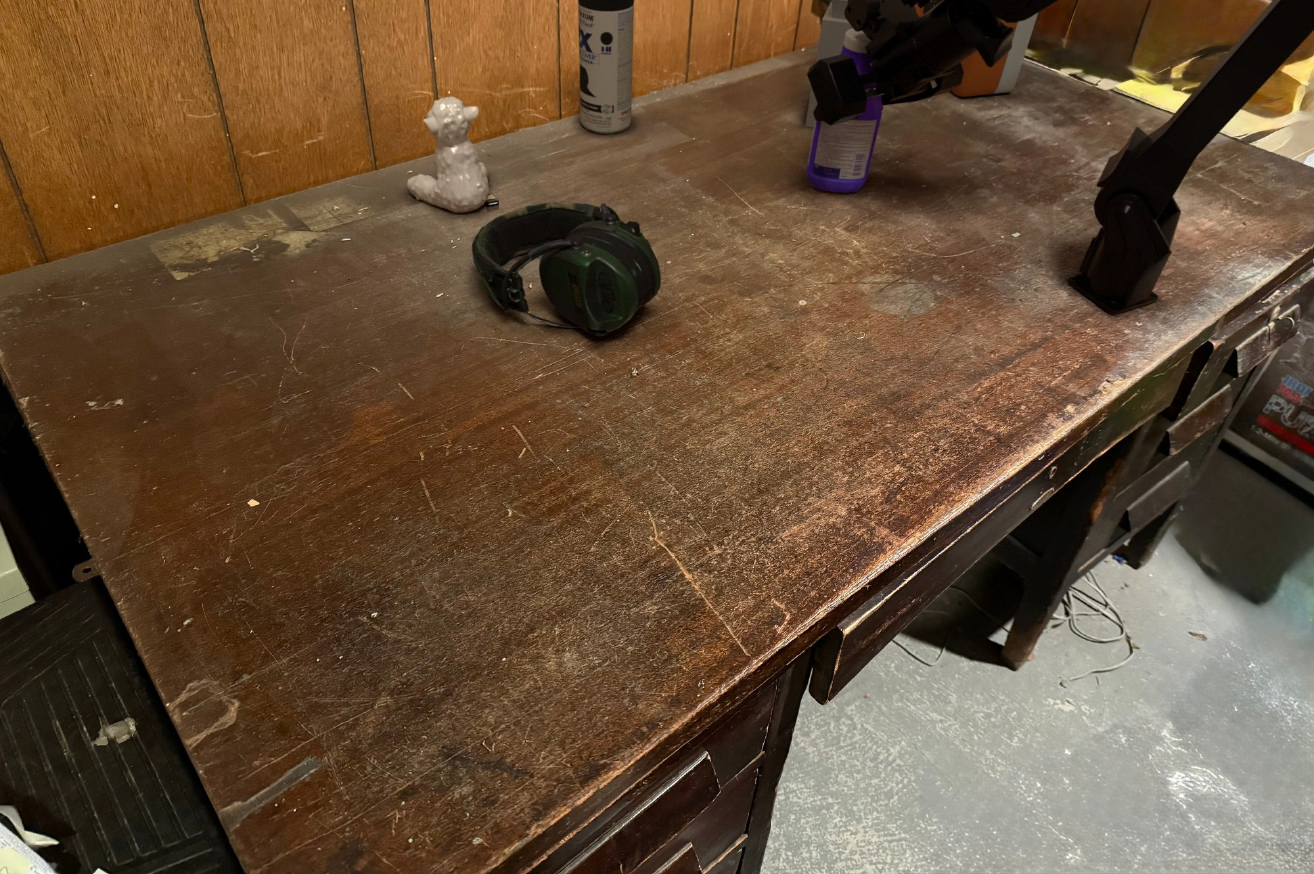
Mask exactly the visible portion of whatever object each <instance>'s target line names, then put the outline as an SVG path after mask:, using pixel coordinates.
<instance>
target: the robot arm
mask: <svg viewBox="0 0 1314 874" xmlns="http://www.w3.org/2000/svg"><path fill="white" fill-rule="evenodd" d="M930 1H931V0H848V1H847V3H848V5H847V6H846V8H845V11H844V15H845V18H846V20H847V21H848V22H849V24H850V25H851V26H852V28H853V29H854V30H855V31H856V32H858V31H863V32H864V34H865V35H866V36H867V38H868V39H870V40H871V41H872V42H870V43H869V44H868V45H866V46H865V49H866V52H867V55H868V58H872V59H873V62H871V63H870V66H871V68H872V72H871V73H867V74H863V75H859V74H858V71H857V68H856V65H855V63H854V60H853V58H852V57H850V56H848V55H846V54H841V55H837V56H833V57H828V58H824V59H820V60H819V61H817V62H816V61H815V62H816V63H813V64H812V65H810V66H809V67H808V71H807V73H806V76H807V79H808V81H809V84H810V87H812V90H813V93H814V95H815V98H816V101H817V103H818V104H817V106H816V108H815V109H814V111H813V114H814V117H815V120H816V121H824V122H825V123H827V124H828V125H830V126H832V125H835V124H839V123H843V122H847V121H850V120H854V119H857V118H860V116H859V115H861V114H862V113H864V112H865V111H866V106H867V101H868V99H869V98H873V97H876V96H880V95H881V98H882V104H883V106H890V105H891V106H893V105H899V104H907V103H908V104H909V103H915V102H919V101H923V100H926V99H930V98H932V97H935V96H939V95H942V94H946V93H949V92H952V91H951V90H953V89H954V88H956V87H957V86H959V85H961V82H962V79H963V75H964V70H963V68H962V65H961V61H963V60H964V59H966V58H967V57H969V56H970V55H972V54H973V53H975V52H976V51H978V52H979V54H980V56H981V57H982V59H983V60H984V62H985V63H986V65H987V66H988V67H993V66H994V65H995V64H996V63H997V62H998V61H999V60H1000V59H1001V58H1002V57H1004V56H1005V55H1006V54H1007V53H1008V52H1009V51H1010V50H1011V49H1012V34H1013V32H1014V29H1013V28H1012V27H1008V26H1006V25H1004V24H1003V23H1002V21H1001V20H1004V21H1005V22H1007V23H1016V22H1020V21H1024V20H1026V19H1028V18H1030V17H1032V16H1033V15H1035V14H1037V13H1038V14H1039V13H1040V12H1041V11H1043V10H1044V9H1046V8H1048V7H1049V6H1051V5H1053V4H1054V3H1056V2H1058V1H1059V0H943V1H941V2H940V3H939V4H937V5H936V6H935V7H933V8H932V9H931V10H929V11H928V12H927V13H925V14H924V15H923V16H921V17H919V15H918V14H917V12H916V8H915V6H914V5H916V4H917V3H918V4H917V5H918V6H919V8H922V7H923V6H925V5H926V4H927V3H929V2H930ZM1000 19H1001V20H1000ZM1313 32H1314V0H1271V2H1270V3H1269V4H1268V5H1267V6H1266V7H1265V8H1264V10H1262V12H1260V14H1259V15H1258V17H1257V18H1256V19H1255V20H1254V21H1253V22H1252V24H1250V26H1249V27H1248V28H1247V29H1246V30H1245V31H1244V33H1243V34H1242V35H1241V36H1240V37H1239V38H1238V40H1236V41H1235V43H1234V45H1232V46H1231V48H1230V49H1228V51H1227V52H1226V53H1225V54H1224V55H1223V56H1222V58H1221V59H1220V60H1219V62H1218V63H1217V64H1216V65H1215V66H1214V67H1213V68H1212V69H1211V70H1210V72H1209V73H1208V74H1207V75H1206V76H1205V78H1204V79H1203V80H1202V81H1201V83H1199V84H1198V86H1197V87H1196V88H1195V89H1194V90H1193V92H1192V93H1191V94H1190V95H1189V96H1188V97H1187V98H1186V100H1185V101H1184V102H1183V103H1182V104H1181V105H1180V106H1179V108H1178V109H1177V110H1176V111H1175V112H1174V113H1173V115H1172V116H1171V117H1170V118H1169V119H1168V120H1167V121H1166V122H1165V123H1164V124H1162V125H1161V126H1160V127H1158V128H1156V129H1155V130H1154V131H1152V132H1151V133H1149V134H1148V133H1146V132H1144V130H1142V129H1141V128H1140V127H1139V126H1136V127H1135V129H1134V130H1132V133H1131V134H1130V136H1129V138H1128V140H1127V141H1126V143H1125V145H1124V146H1123V147H1122V148H1121V149H1120V150H1119V151H1118V152H1116V153H1115V154H1113V155H1111V156H1109V158H1108V160H1107V162H1106V164H1105V166H1104V168H1103V170H1102V172H1101V175H1100V176H1099V179H1098V181H1097V182H1096V187H1097V188H1099V190H1098V192H1097V195H1096V197H1095V199H1094V202H1093V210H1094V211H1093V212H1094V216H1095V218H1096V221H1097V222H1098V223H1099V225H1101V227H1099V230H1098V233H1097V235H1096V236H1094V237H1092V238H1091V240H1090V242H1089V244H1088V246H1087V249H1086V251H1085V253H1084V256H1083V258H1082V261H1081V263H1080V265H1079V267H1078V272H1079V273H1078V274H1075V275H1071V276H1069V277H1068V279H1067V281H1066V282H1067V284H1069V286H1072V287H1073V288H1074V289H1076V290H1077V291H1078V292H1080V293H1081V294H1083V295H1084V296H1085V297H1086V298H1088V299H1090V300H1091V301H1093V303H1095V304H1096V305H1098V306H1099V307H1100V308H1102V309H1103V310H1105V311H1106V312H1107V313H1108V314H1109V313H1110V314H1112V315H1117V314H1121V313H1124V312H1127V311H1130V310H1134V309H1137V308H1140V307H1143V306H1146V305H1149V304H1152V303H1156V302H1157V301H1158V300H1159V295H1158V294H1157V293H1155V292H1154V291H1153V290H1154V288H1155V286H1156V284H1157V283H1158V280H1159V279H1160V277H1161V275H1162V272H1163V271H1164V269H1165V266H1166V265H1167V263H1168V261H1169V259H1170V258H1171V255H1172V253H1173V251H1172V250H1171V246H1172V244H1173V241H1174V238H1175V235H1176V231H1177V227H1178V225H1179V221H1180V219H1181V215H1182V211H1181V209H1180V207H1179V204H1178V203H1177V201H1176V199H1175V197H1174V195H1175V194H1176V192H1177V190H1178V189H1179V187H1180V186H1181V184H1182V182H1183V181H1184V179H1185V177H1186V175H1187V174H1188V172H1189V170H1190V168H1191V167H1192V165H1193V163H1194V162H1195V160H1196V159H1197V157H1198V156H1199V155H1200V154H1201V153H1202V151H1204V149H1205V148H1207V146H1208V145H1209V144H1210V143H1211V142H1212V141H1213V140H1214V139H1215V138H1216V136H1218V134H1219V133H1220V132H1221V131H1222V130H1223V129H1224V128H1225V127H1226V126H1227V124H1229V122H1231V120H1232V119H1233V118H1234V117H1235V116H1236V115H1237V114H1238V113H1239V112H1240V111H1241V110H1242V109H1243V107H1245V106H1246V104H1247V103H1249V101H1250V100H1251V99H1252V98H1253V96H1254V95H1255V94H1257V92H1258V91H1259V90H1260V89H1261V88H1262V87H1263V86H1264V85H1265V84H1266V82H1268V80H1269V79H1271V77H1272V76H1273V75H1274V74H1275V73H1276V72H1277V71H1278V70H1279V69H1280V68H1281V66H1282V65H1283V64H1284V63H1286V61H1287V60H1288V59H1289V58H1290V57H1291V55H1293V54H1294V53H1295V52H1296V50H1297V49H1298V48H1299V47H1300V46H1301V45H1302V44H1303V43H1304V42H1305V41H1306V40H1307V39H1308V37H1309V36H1310V35H1311V34H1312V33H1313ZM933 81H934V82H935V84H936V85H935V86H934V87H933V84H932V82H933ZM875 85H877V86H875ZM872 86H874V87H872ZM868 87H870V88H868ZM864 88H866V89H864Z"/></svg>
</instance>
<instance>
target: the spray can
mask: <svg viewBox="0 0 1314 874" xmlns="http://www.w3.org/2000/svg"><path fill="white" fill-rule="evenodd" d="M634 11H635V0H577V12H578V15H577V17H578V57H579V58H578V61H579V62H578V68H579V69H578V71H579V119H580V122H581V125H582V127H584V129H585V130H586V131H590V132H591V133H594V134H600V135H614V134H619V133H622V132H625V131H626V130H627V129H628V128H630V125H631V123H632V106H633V103H632V102H633V65H634V64H633V62H634V59H633V57H634V17H635V12H634Z"/></svg>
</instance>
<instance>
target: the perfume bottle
mask: <svg viewBox="0 0 1314 874" xmlns="http://www.w3.org/2000/svg"><path fill="white" fill-rule="evenodd" d="M847 1H848V0H831V2H830V3H829V4H828V7H827V9H826V11H825V13H824V15H823V17H822V19H821V26H820V30H819V31H820V32H819V38H818V44H817V51H816V55H815V56H816V57H815V63H816V62H817V61H819V60H820V59H824V58H828V57H833V56H837V55H841V51H842V48H843V42H844V39H845V35H846V32H847V31H848V30H850V29H853V28H852V26H851V25H850V24H849V22H848V21H847V20H846V18H845V15H844V11H845V8H846V6H847V5H848V3H847ZM815 63H814V64H815ZM810 87H811V86H810ZM817 104H818V103H817V101H816V98H815V95H814V93H813V90H812V87H811V88H810V94H809V101H808V106H807V112H806V120H805V125H804V126H805V127H806V128H813V129H814V123H815V117H814V114H813V111H814V109H815V108H816V106H817Z"/></svg>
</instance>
